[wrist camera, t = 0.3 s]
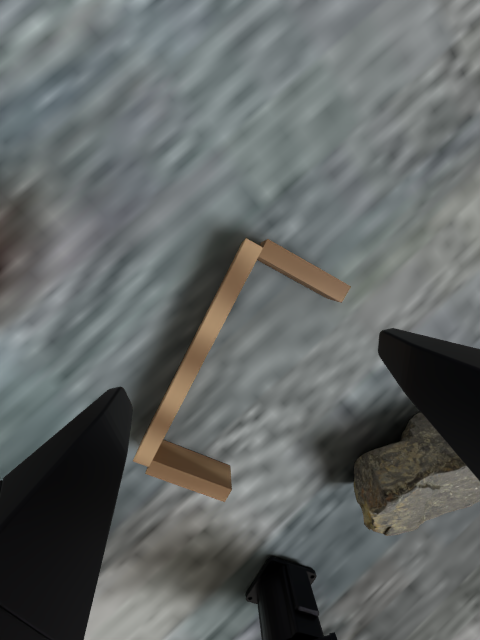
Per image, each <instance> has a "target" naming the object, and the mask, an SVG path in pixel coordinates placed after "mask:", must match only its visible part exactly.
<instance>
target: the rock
mask: <svg viewBox="0 0 480 640" xmlns="http://www.w3.org/2000/svg"><path fill="white" fill-rule="evenodd" d="M354 474H355V476H354V492H355V496H356V500H357V502H358V504H360V506H361V508H362V511H363V516H364V525H365V526H366V527H367V528H368V529H369V530H370V529H372V530H373V531H375V532H378V533H382V534H385V535H387V536H391V535H398V534H401V533H405V532H409V531H413V530H415V529H417V528H418V527H419V525H420V524H422V523H423V522H424V521H426V520H430V519H432V518H435V517H438V516H440V515H442V514H445V513H448V512H452V511H455V510H458V509H462V508H466V507H470V506H472V505H473V504H475V503H477V502H479V501H480V481H479V480H478V479H477V478H476V476H475V475H474V474H473V473H472V472H471V471H470V469H469V468H468V467H467V466H466V465H465V463H464V462H463V461H462V460H461V459H460V458H459V456H458V455H457V454H456V453H455V452H454V451H453V449H452V448H451V447H450V446H449V445H448V443H447V442H446V441H445V440H444V439H443V438H442V436H441V435H440V434H439V433H438V432H437V430H436V429H435V428H434V427H433V426H432V425H431V423H430V422H429V421H428V420H427V419H426V418H425V416H424V415H423V414H422V413H418V414H416V415H414V417H413V418H412V419H411V420H410V421H409V422H408V424H407V426H406V428H405V430H404V431H403V433H402V436H401V441H400V442H397V443H393V444H389V445H387V446H383V447H381V448H377V449H374V450H372V451H369V452H367V453H365V454H363V455H362V456H360V457H359V458H358V459H357V461H356V462H355V465H354Z"/></svg>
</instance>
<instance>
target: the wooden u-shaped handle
mask: <svg viewBox="0 0 480 640" xmlns="http://www.w3.org/2000/svg"><path fill="white" fill-rule="evenodd" d="M256 260H258V261H260V262H262V263H264V264H265V265H267V266H269V267H271V268H273V269H274V270H276V271H278V272H280V273H282V274H284V275H285V276H287V277H289V278H291V279H293V280H294V281H296V282H298V283H300V284H302V285H303V286H305V287H307V288H309V289H311V290H313V291H314V292H316V293H318V294H320V295H322V296H323V297H325V298H327V299H331V300H334V301H338V302H341V303H342V301H343V300H344V298H345V296H346V294H347V293H348V291H349V289H350V288H351V286H349V285H347V284H346V283H344V282H342V281H340V280H339V279H337V278H335V277H333V276H332V275H330V274H328V273H326V272H325V271H323V270H321V269H319V268H318V267H316V266H314V265H312V264H311V263H309V262H307V261H305V260H304V259H302V258H300V257H298V256H297V255H295V254H293V253H291V252H290V251H288V250H286V249H284V248H283V247H281V246H279V245H277V244H276V243H274V242H272V241H270V240H269V239H267V240H265V241H263V242H261V244H260V246H259V245H257V244H255V243H254V242H252V241H250V240H248V239H247V238H246V239H245V240H244V241H243V242H242V244H241V246H240V248H239V250H238V252H237V254H236V255H235V257H234V259H233V261H232V263H231V265H230V267H229V269H228V271H227V273H226V275H225V277H224V279H223V281H222V283H221V285H220V287H219V289H218V291H217V293H216V295H215V297H214V299H213V301H212V303H211V305H210V307H209V309H208V311H207V313H206V315H205V317H204V319H203V321H202V323H201V325H200V326H199V328H198V330H197V332H196V334H195V336H194V338H193V340H192V342H191V344H190V346H189V348H188V350H187V352H186V354H185V356H184V358H183V360H182V362H181V364H180V366H179V368H178V370H177V372H176V374H175V376H174V378H173V380H172V382H171V384H170V386H169V388H168V390H167V392H166V394H165V396H164V397H163V399H162V401H161V403H160V405H159V407H158V409H157V411H156V413H155V415H154V417H153V419H152V421H151V423H150V425H149V427H148V429H147V431H146V433H145V435H144V437H143V439H142V441H141V443H140V446H139V448H138V450H137V453H136V455H135V457H134V460H133V461H134V462H136V463H139V464H142V465H145V466H147V470H146V473H145V474H148V475H151V476H153V477H156V478H159V479H162V480H165V481H167V482H170V483H173V484H176V485H178V486H181V487H184V488H187V489H190V490H192V491H195V492H198V493H201V494H204V495H206V496H209V497H212V498H215V499H217V500H220V501H223V502H225V500H226V499H227V497H228V495H229V494H230V492H231V490H232V486H231V470H230V466H229V465H227V464H224V463H222V462H219V461H217V460H214V459H211V458H209V457H206V456H204V455H201V454H199V453H196V452H193V451H191V450H188V449H186V448H183V447H180V446H178V445H175V444H173V443H170V442H168V441H165V440H163V439H164V437H165V435H166V433H167V431H168V429H169V427H170V425H171V423H172V421H173V420H174V418H175V416H176V414H177V412H178V410H179V408H180V406H181V404H182V402H183V400H184V398H185V397H186V395H187V393H188V391H189V389H190V387H191V385H192V383H193V381H194V379H195V377H196V375H197V373H198V372H199V370H200V368H201V366H202V364H203V362H204V360H205V358H206V356H207V354H208V352H209V350H210V349H211V347H212V345H213V343H214V341H215V339H216V337H217V335H218V333H219V331H220V329H221V327H222V326H223V324H224V322H225V320H226V318H227V316H228V314H229V312H230V310H231V308H232V306H233V304H234V303H235V301H236V299H237V297H238V295H239V293H240V291H241V289H242V287H243V285H244V283H245V281H246V279H247V278H248V276H249V274H250V272H251V270H252V268H253V266H254V264H255V262H256Z"/></svg>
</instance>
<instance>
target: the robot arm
mask: <svg viewBox="0 0 480 640" xmlns="http://www.w3.org/2000/svg"><path fill="white" fill-rule="evenodd" d="M378 353H379V356H380V358H381V359H382V361H383V362H384V364H385V365H386V367H387V368H388V370H389V371H390V373H391V374H392V375H393V377H394V378H395V380H396V381H397V383H398V384H399V386H400V387H401V388H402V390H403V391H404V392H405V394H406V395H407V396H408V397H409V399H410V400H411V401H412V402H413V403H414V405H415V406H416V407H417V408H418V409H419V410H420V412H421V413H422V414H423V415H424V416H425V418H426V419H427V420H428V421H429V422H430V423H431V425H432V426H433V427H434V428H435V429H436V430H437V432H438V433H439V434H440V435H441V436H442V438H443V439H444V440H445V441H446V442H447V443H448V445H449V446H450V447H451V448H452V449H453V451H454V452H455V453H456V454H457V455H458V456H459V458H460V459H461V460H462V461H463V462H464V463H465V465H466V466H467V467H468V468H469V469H470V471H471V472H472V473H473V474H474V475H475V476H476V478H477V479H478V480H479V481H480V349H477V348H473V347H469V346H464V345H460V344H456V343H452V342H448V341H444V340H440V339H436V338H432V337H427V336H423V335H419V334H415V333H411V332H407V331H403V330H399V329H395V328H391V329H386V330H382V331H381V332H380V334H379V345H378ZM132 412H133V409H132V404H131V402H130V400H129V398H128V396H127V394H126V392H125V390H124V388H123V387H116V388H112V389H109V390H107V391H106V392H105V393H104V394H103V395H101V396H100V397H99V398H98V399H97V400H96V401H94V402H93V403H92V404H91V405H90V406H88V407H87V408H86V409H85V410H84V411H82V412H81V413H80V414H79V415H78V416H76V417H75V418H74V419H73V420H72V421H71V422H69V423H68V424H67V425H66V426H65V427H63V428H62V429H61V430H60V431H59V432H57V433H56V434H55V435H54V436H53V437H52V438H50V439H49V440H48V441H47V442H46V443H44V444H43V445H42V446H41V447H40V448H38V449H37V450H36V451H35V452H34V453H32V454H31V455H30V456H29V457H28V458H27V459H25V460H24V461H23V462H22V463H21V464H19V465H18V466H17V467H16V468H15V469H13V470H12V471H11V472H10V473H9V474H8V475H6V476H5V477H4V478H3V481H2V480H1V481H0V640H84V636H85V631H86V627H87V623H88V619H89V615H90V610H91V606H92V602H93V598H94V593H95V589H96V585H97V581H98V576H99V572H100V568H101V564H102V559H103V555H104V551H105V547H106V543H107V538H108V534H109V530H110V526H111V521H112V517H113V513H114V509H115V504H116V500H117V496H118V492H119V487H120V483H121V479H122V475H123V471H124V466H125V462H126V457H127V452H128V445H129V436H130V428H131V420H132ZM315 578H316V573H315V571H314V570H312V569H309V568H306V567H303V566H300V565H297V564H294V563H291V562H288V561H285V560H282V559H279V558H276V557H270V558H269V559H268V560H267V562H266V563H265V565H264V566H263V568H262V569H261V571H260V572H259V574H258V575H257V577H256V579H255V580H254V582H253V583H252V585H251V586H250V588H249V589H248V591H247V593H246V600H247V601H248V602H252V603H255V604H258V612H259V620H260V628H261V637H262V640H337V637H336V635H335V632H334V633H330V635H327V636H324V635H323V632H322V628H321V625H320V621H319V618H318V616H319V611H318V608H317V604H316V601H315V598H314V594H313V591H312V587H311V584H312V583H313V581H314V580H315Z"/></svg>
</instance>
